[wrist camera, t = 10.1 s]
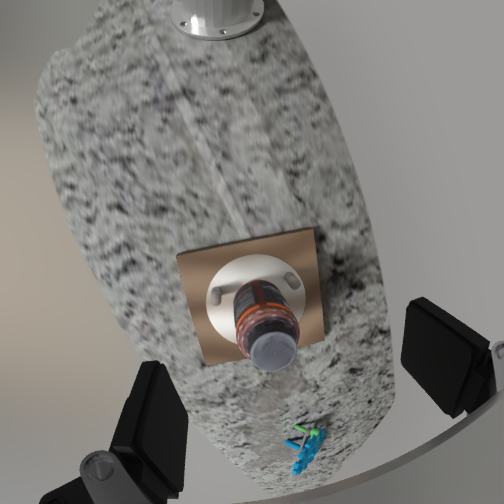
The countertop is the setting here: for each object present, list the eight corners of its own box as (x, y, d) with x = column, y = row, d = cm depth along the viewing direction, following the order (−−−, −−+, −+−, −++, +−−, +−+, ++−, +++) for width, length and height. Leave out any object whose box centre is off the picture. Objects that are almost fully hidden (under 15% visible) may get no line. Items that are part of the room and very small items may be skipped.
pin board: (178, 253, 32) (170, 262, 27) (309, 227, 33) (321, 232, 28) (207, 359, 35) (205, 378, 31) (321, 335, 36) (332, 351, 31)
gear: (319, 457, 40) (293, 485, 32) (294, 446, 44) (265, 471, 36) (335, 417, 40) (310, 445, 32) (307, 406, 44) (277, 430, 36)
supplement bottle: (227, 318, 32) (228, 374, 21) (240, 272, 31) (248, 313, 20) (273, 328, 33) (294, 384, 22) (289, 284, 32) (319, 328, 21)
